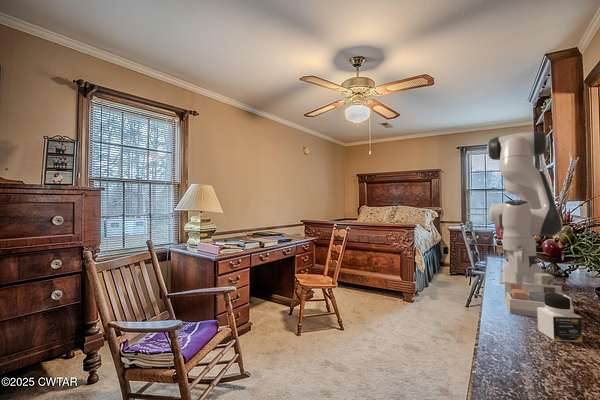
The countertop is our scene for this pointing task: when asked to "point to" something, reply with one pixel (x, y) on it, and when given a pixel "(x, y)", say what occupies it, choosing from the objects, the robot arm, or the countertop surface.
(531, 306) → the cream open box
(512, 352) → the countertop surface
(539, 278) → the skincare box
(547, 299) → the medicine bottle
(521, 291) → the terracotta key
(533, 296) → the slate key
